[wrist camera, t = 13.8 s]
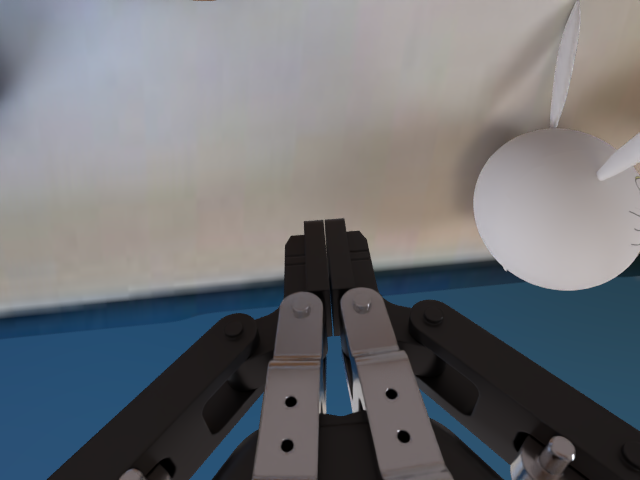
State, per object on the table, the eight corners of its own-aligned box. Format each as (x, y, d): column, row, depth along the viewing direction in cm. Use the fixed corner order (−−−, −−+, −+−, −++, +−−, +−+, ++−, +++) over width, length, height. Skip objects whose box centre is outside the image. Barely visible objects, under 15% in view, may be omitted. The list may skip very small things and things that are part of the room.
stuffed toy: (609, 342, 39) (877, 89, 22) (471, 333, 38) (642, 62, 21) (534, 216, 53) (664, 1, 36) (431, 207, 52) (515, -18, 35)
